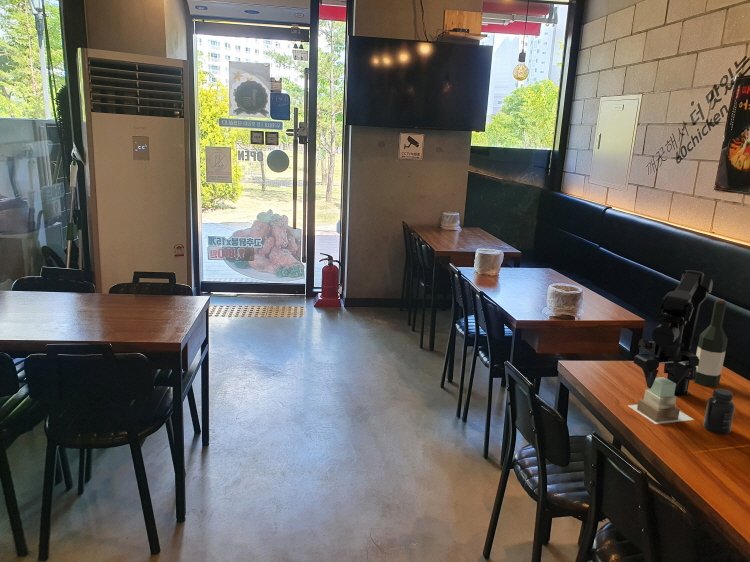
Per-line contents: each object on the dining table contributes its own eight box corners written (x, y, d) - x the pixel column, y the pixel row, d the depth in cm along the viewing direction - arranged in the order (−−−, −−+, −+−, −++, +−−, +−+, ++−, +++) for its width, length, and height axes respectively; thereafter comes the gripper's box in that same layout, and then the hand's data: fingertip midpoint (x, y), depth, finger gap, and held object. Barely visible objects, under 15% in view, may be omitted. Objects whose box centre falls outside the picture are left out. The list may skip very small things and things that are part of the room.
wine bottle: (719, 381, 198) (735, 299, 190) (718, 389, 191) (735, 304, 183) (692, 375, 202) (707, 295, 195) (690, 383, 195) (706, 300, 188)
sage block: (661, 389, 171) (663, 376, 170) (673, 396, 167) (676, 383, 166) (647, 390, 170) (649, 378, 169) (659, 397, 165) (662, 384, 164)
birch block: (659, 398, 173) (661, 388, 172) (674, 407, 167) (676, 396, 166) (643, 400, 171) (645, 389, 170) (657, 409, 166) (659, 398, 165)
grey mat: (664, 402, 179) (664, 401, 179) (694, 420, 168) (694, 419, 168) (627, 406, 175) (627, 405, 175) (655, 424, 164) (655, 424, 164)
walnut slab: (658, 407, 175) (660, 397, 174) (677, 419, 167) (680, 408, 166) (636, 409, 173) (638, 399, 172) (655, 422, 165) (657, 411, 164)
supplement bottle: (726, 426, 165) (734, 389, 162) (732, 437, 158) (740, 398, 156) (700, 422, 167) (707, 385, 164) (705, 432, 161) (713, 394, 158)
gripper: (675, 327, 174) (667, 373, 178) (624, 330, 169) (617, 378, 173) (704, 339, 164) (695, 388, 167) (651, 343, 159) (643, 393, 162)
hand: (661, 386), depth 168 cm, fingers open, 9 cm apart
